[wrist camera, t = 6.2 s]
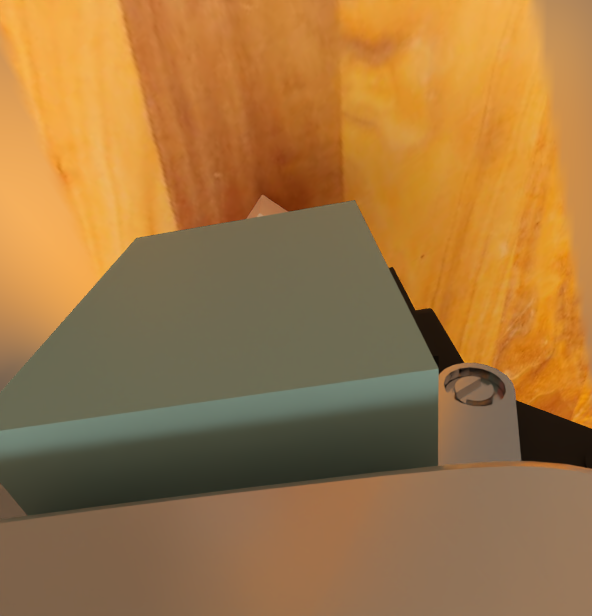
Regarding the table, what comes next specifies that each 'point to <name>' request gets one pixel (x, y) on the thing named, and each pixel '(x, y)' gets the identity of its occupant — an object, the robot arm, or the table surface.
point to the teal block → (224, 369)
